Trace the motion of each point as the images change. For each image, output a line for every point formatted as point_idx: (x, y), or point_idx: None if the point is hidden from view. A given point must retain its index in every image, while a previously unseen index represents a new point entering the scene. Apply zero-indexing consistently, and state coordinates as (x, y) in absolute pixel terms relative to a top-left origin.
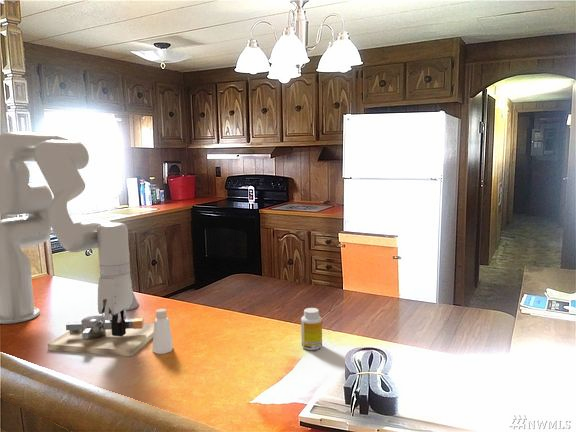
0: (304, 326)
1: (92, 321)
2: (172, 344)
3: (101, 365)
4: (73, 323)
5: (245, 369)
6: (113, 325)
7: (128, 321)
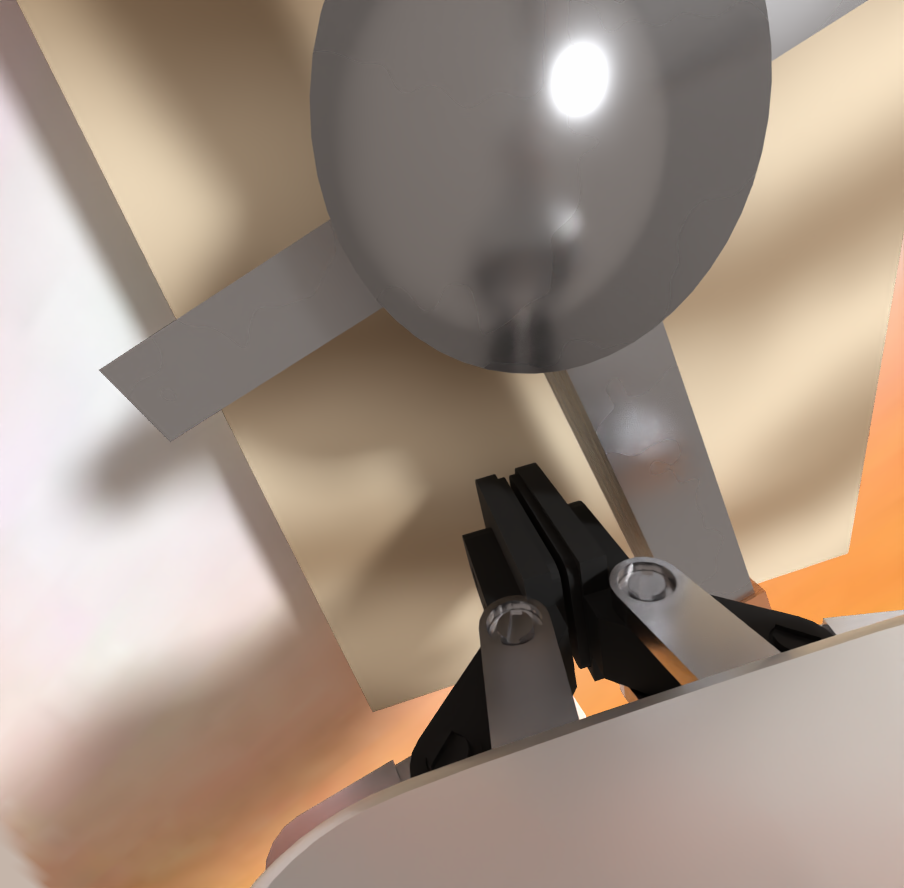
0: None
1: (465, 225)
2: None
3: (149, 625)
4: None
5: None
6: (486, 606)
7: None
